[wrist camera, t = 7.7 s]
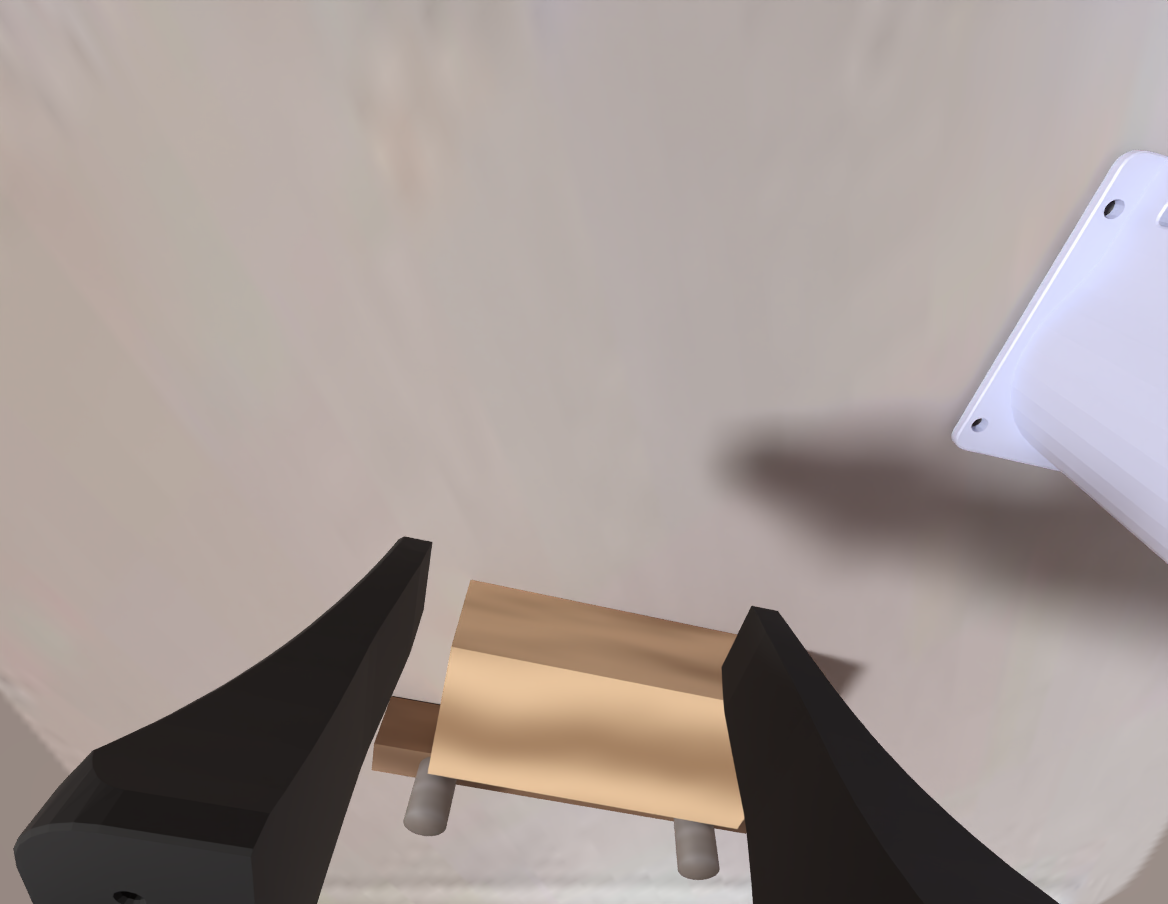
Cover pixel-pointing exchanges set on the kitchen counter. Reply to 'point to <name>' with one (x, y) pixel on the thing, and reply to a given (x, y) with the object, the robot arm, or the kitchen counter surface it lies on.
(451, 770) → the wooden block
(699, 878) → the bar
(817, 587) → the kitchen counter surface
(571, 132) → the kitchen counter surface
